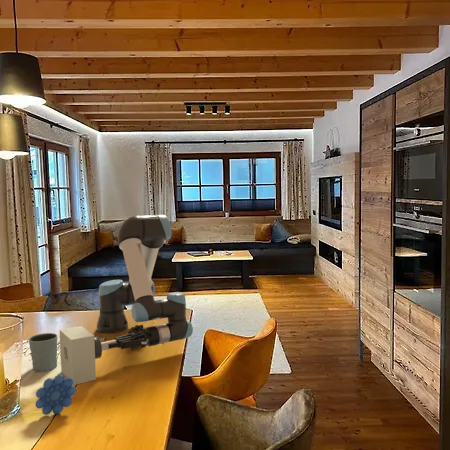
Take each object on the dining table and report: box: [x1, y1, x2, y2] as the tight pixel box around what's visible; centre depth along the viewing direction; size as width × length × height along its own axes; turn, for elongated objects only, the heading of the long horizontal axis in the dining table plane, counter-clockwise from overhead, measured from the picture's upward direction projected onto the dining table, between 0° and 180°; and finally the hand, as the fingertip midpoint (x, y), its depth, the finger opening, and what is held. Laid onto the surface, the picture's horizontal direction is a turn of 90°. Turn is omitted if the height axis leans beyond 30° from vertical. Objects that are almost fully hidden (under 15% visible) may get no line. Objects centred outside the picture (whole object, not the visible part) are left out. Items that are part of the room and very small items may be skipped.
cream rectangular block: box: [59, 325, 97, 386], centre depth 168 cm, size 15×8×16 cm, turn 35°
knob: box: [67, 336, 103, 360], centre depth 169 cm, size 8×11×8 cm
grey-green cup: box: [28, 332, 58, 372], centre depth 176 cm, size 10×10×12 cm
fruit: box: [127, 324, 145, 351], centre depth 199 cm, size 9×8×15 cm
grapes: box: [35, 373, 77, 416], centre depth 139 cm, size 12×7×12 cm, turn 107°
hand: (99, 347), depth 172 cm, fingers closed
